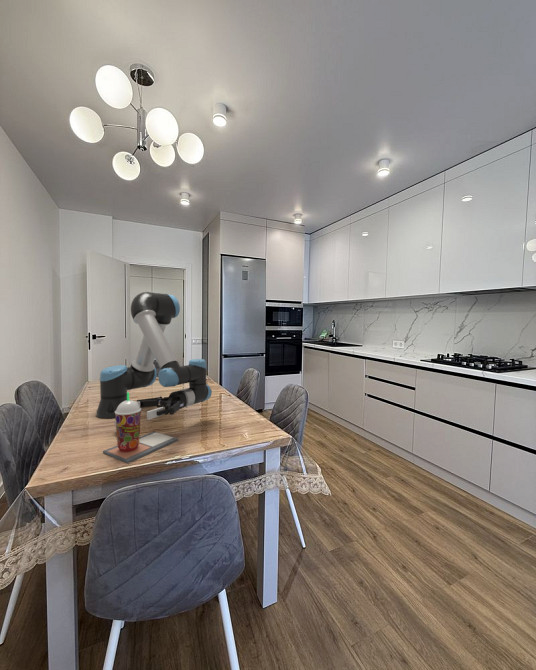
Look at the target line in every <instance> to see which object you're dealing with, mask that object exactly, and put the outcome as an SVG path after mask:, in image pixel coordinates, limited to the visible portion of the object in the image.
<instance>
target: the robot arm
mask: <svg viewBox="0 0 536 670" xmlns="http://www.w3.org/2000/svg"><path fill="white" fill-rule="evenodd" d="M180 310H181V306H180V302H179V300H178V298H177V297H176V296H174V295H172V294H169V293H161V292H160V293H159V292H149V291H145V292H140V293H137V294H136V296H134V298H133V299H132V300H131V303H130V315H131V317H132V320H133V322H134V323H135V324H137V325H138V326H139V329H140V331H141V332H142V334H143V337H142V339H141V343H140V346H139V349H138V352H137V355H136V359H133V360H132V361H131V363H130V364H131V365H130V366H127V365H124V364H119V365H113V366H109V367H105V368H103V369H102V370H101V371H100V375H99V383H100V384H99V386H100V389H99V390H100V401H99V404H98V405H97V406H98V407H97V409H96V417H97V418H98V419H115V411H116V409H117V407H118V406H119V404H120V403H122V402H123V401H126V400H127V392H128V391H131V390H135V389H140V388H146V387H149V386H152V385H153V384H154V383H155V381H156V380H157V378H158V383H159V385H161V386H162V387H164V388H169V387H170V388H171V387H176V386H179V385H184V384H188V385H189V387H187V388H181V389H180V390H175V391H172V392H171V393H170V394H169V395H168V396H164V397H163V396H157V397H150V398H149V397H148V398H142V399H136V402H137V403H138V405H139V406H140V408H141V409H142V408H151V407H156V408H153V409H151V410H148V411H146V420H147V421H149V420H153V419H155V418H158V417H161V416H164V415H165V416H166V415H169V416H173V415H174V414H175V413H177V412H178V411H179V410H182V409H184V408H186V409H187V408H189V407H190V406H193V405H197V404H199V403H203V402H205V401H208V400H210V398H211V397H212V393H213V392H212V389H211V386H210V385H209V384H207V361H206V359H203V358H192V359H190V360H189V361H188V364H187V365H180V364H179V361H178V360H177V358H176V356H175V354H174V352H173V350H172V348H171V346H170V344H169V342H168V340H167V338H166V336H165V334H164V332H165V330H166V326H168V325H170V324H171V322H172V319H175V318H177V317H178V316H179V314H180ZM155 361H156V363H157V366H158V367H159V369H160V370H159V372H158V374H157V368H156V366H155V364H154V362H155Z"/></svg>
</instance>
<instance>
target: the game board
mask: <svg viewBox="0 0 536 670" xmlns="http://www.w3.org/2000/svg"><path fill="white" fill-rule="evenodd" d="M178 441H179V438H177V437H174V436H171V435H167V434H164V433H160V432H158V431H157V432H156V431H151V432H149V433H146V434H143V435H141V436H140V437H139V445H138V447H137V449H135V450H133V451H130V452H121V451H120V450H119V448H118V444H117V445H115V446H112V447H110V448H107V449H105V450H103V451H102V454H104V455H106V456H108V457H111V458H114V459H116V460H118V461H121V462H123V463H126V464H130V463H133V462H134V461H136V460H138V459H141V458H144V457H145V456H148V455H149V454H152V453H154V452H157V451H158V450H161V449H163V448H165V447H168V446H169V445H172V444H174V443H176V442H178Z"/></svg>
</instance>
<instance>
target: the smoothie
mask: <svg viewBox="0 0 536 670" xmlns="http://www.w3.org/2000/svg"><path fill="white" fill-rule="evenodd" d="M141 414H142V408H140V406H139V405H138V403H137V401H135V400H132V399H130V392H128V391H127V400H126V401H123V402H122V403H120V404H119V406H118V407H117V409H116V411H115V418H114V419H115V421H116V426H115V430H116V431H115V432H116V440H117V441H116V442H117V445H118V448H119V450H120V451H121V452H130V451H133V450H135V449H137V447H138V445H139V437H141V436H140V435H141V433H140V432H141V417H142V415H141Z"/></svg>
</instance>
